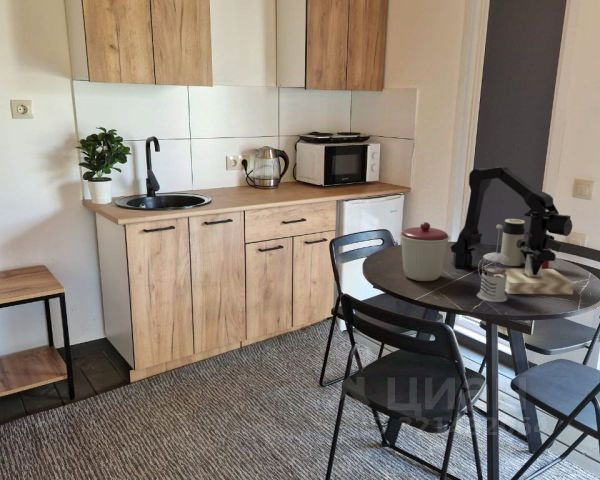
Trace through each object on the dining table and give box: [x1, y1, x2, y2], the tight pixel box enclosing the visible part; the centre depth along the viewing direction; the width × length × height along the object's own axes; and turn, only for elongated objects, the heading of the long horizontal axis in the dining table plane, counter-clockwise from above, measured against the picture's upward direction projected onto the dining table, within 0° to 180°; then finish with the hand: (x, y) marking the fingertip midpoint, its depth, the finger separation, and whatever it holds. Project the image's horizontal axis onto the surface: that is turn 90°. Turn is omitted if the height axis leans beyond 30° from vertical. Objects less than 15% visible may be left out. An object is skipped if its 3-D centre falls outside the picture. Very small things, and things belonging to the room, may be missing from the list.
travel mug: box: [500, 218, 526, 267], centre depth 208 cm, size 8×8×18 cm
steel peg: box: [524, 254, 542, 278], centre depth 183 cm, size 4×4×10 cm
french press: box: [476, 224, 509, 303], centre depth 172 cm, size 10×12×25 cm
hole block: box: [494, 268, 575, 295], centre depth 184 cm, size 22×16×4 cm
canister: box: [399, 221, 451, 282], centre depth 191 cm, size 18×18×21 cm
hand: (532, 272), depth 183 cm, fingers closed on steel peg, 4 cm apart
